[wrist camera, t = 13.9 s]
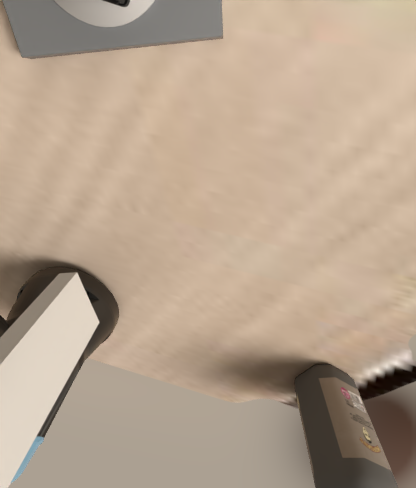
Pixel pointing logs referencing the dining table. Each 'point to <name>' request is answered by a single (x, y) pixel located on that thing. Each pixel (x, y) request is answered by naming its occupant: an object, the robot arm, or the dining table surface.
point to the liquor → (339, 432)
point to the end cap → (119, 2)
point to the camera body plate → (109, 24)
